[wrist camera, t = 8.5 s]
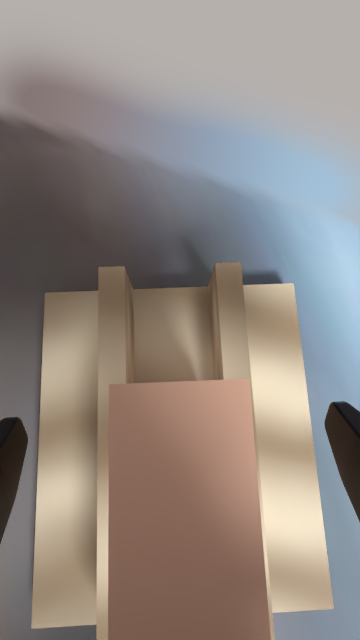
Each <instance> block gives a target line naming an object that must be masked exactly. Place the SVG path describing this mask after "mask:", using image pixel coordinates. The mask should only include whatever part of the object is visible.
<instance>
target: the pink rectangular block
mask: <svg viewBox="0 0 360 640" xmlns="http://www.w3.org/2000/svg"><path fill="white" fill-rule="evenodd" d="M108 640H271V634H270V622H269V610H268V598H267V586H266V574H265V562H264V550H263V538H262V525H261V513H260V501H259V489H258V477H257V465H256V453H255V441H254V429H253V417H252V405H251V393H250V381H249V379H229V380H204V381H179V382H154V383H129V384H109V518H108Z"/></svg>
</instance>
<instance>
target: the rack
mask: <svg viewBox="0 0 360 640" xmlns="http://www.w3.org/2000/svg"><path fill="white" fill-rule="evenodd" d="M229 379H249V381H250V393H251V405H252V417H253V429H254V441H255V453H256V465H257V477H258V489H259V501H260V513H261V525H262V538H263V550H264V562H265V574H266V586H267V598H268V610H269V622H270V634H271V640H275V635H274V624H273V613H277V612H292V611H307V610H322V609H334V606H333V598H332V590H331V582H330V574H329V565H328V557H327V549H326V541H325V533H324V525H323V517H322V509H321V501H320V493H319V485H318V476H317V468H316V460H315V452H314V444H313V436H312V428H311V420H310V412H309V404H308V396H307V387H306V379H305V371H304V363H303V355H302V347H301V339H300V331H299V323H298V315H297V307H296V298H295V290H294V283H286V284H260V285H243V280H242V269H241V262H228V263H215V265H214V268H213V272H212V275H211V278H210V281H209V284H208V286H207V287H180V288H154V289H133V287H132V285H131V282H130V279H129V277H128V274H127V271H126V269H125V266H116V267H98V291H75V292H48V293H45V302H44V327H43V352H42V376H41V401H40V425H39V450H38V475H37V499H36V524H35V549H34V573H33V598H32V623H31V629H37V628H52V627H67V626H82V625H96V640H108V518H109V384H129V383H154V382H179V381H204V380H229Z"/></svg>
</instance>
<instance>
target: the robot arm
mask: <svg viewBox="0 0 360 640" xmlns="http://www.w3.org/2000/svg"><path fill="white" fill-rule="evenodd" d="M325 429H326V433H327V436H328V439H329V442H330V445H331V449H332V452H333V455H334V458H335V461H336V464H337V468H338V471H339V474H340V477H341V479H342V482H343V484H344V487H345V489H346V491H347V494H348V496H349V498H350V501H351V503H352V505H353V507H354V510H355V512H356V514H357V517H358V519H359V521H360V412H359V411H358V410H357V409H355V408H354V407H353V406H351V405H350V404H349V403H347V402H344V401H341V402H332V403H331V404H330V406H329V409H328V412H327V415H326V419H325ZM27 444H28V437H27V433H26V431H25V428H24V426H23V423H22V421H21V419H20V418H19V417H10V418H4V419H2V420H1V421H0V543H1V540H2V537H3V534H4V531H5V528H6V525H7V522H8V519H9V516H10V513H11V510H12V507H13V504H14V501H15V497H16V494H17V489H18V485H19V481H20V476H21V471H22V467H23V462H24V458H25V453H26V449H27Z"/></svg>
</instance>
